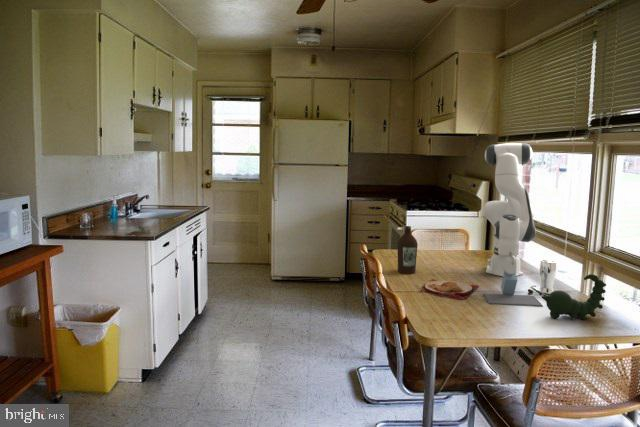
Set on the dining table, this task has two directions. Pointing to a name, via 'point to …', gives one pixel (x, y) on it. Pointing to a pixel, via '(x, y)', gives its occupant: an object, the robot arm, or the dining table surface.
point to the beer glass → (547, 275)
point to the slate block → (508, 284)
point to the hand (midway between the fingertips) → (506, 279)
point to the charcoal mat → (512, 299)
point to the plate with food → (449, 288)
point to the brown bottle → (407, 252)
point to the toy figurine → (566, 305)
